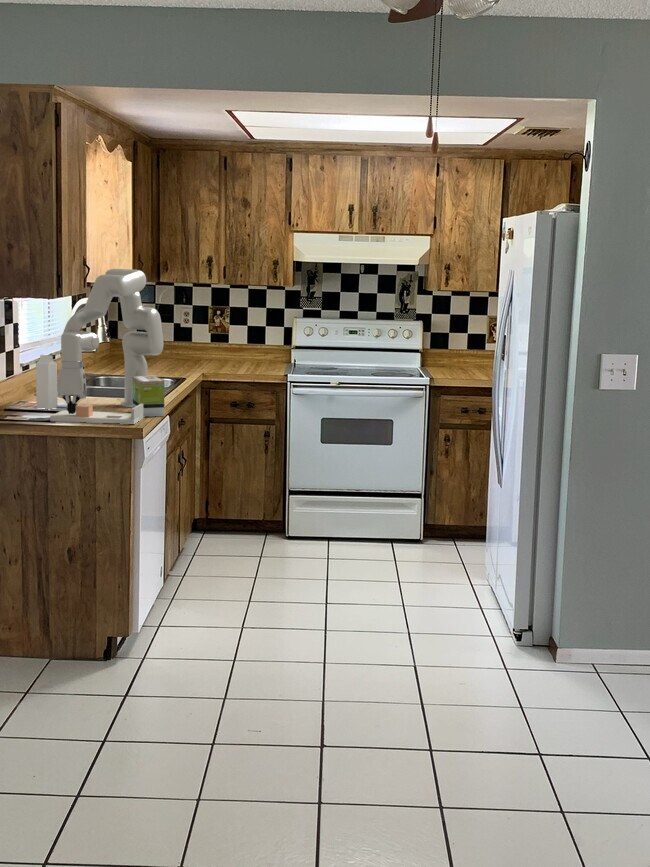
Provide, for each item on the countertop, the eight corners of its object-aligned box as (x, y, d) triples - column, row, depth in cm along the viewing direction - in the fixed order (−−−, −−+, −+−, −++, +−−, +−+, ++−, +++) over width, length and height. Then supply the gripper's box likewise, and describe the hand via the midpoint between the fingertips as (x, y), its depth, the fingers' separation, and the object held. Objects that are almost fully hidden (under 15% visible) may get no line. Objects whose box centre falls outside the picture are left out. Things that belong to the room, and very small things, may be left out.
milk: (45, 407, 392) (44, 354, 389) (57, 408, 390) (57, 355, 387) (36, 409, 387) (35, 355, 383) (48, 410, 385) (48, 356, 381)
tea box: (131, 411, 391) (131, 375, 388) (155, 411, 395) (156, 375, 392) (140, 417, 377) (140, 380, 374) (165, 416, 381) (165, 380, 379)
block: (79, 414, 365) (79, 404, 365) (92, 415, 365) (92, 404, 364) (75, 416, 360) (75, 406, 360) (88, 417, 360) (88, 406, 360)
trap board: (63, 415, 375) (62, 400, 374) (143, 418, 373) (143, 403, 372) (50, 421, 360) (50, 405, 359) (133, 424, 359) (133, 409, 358)
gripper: (93, 365, 363) (94, 412, 366) (55, 363, 364) (55, 411, 367) (87, 367, 356) (88, 415, 359) (48, 365, 357) (49, 413, 360)
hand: (71, 413), depth 363 cm, fingers closed
